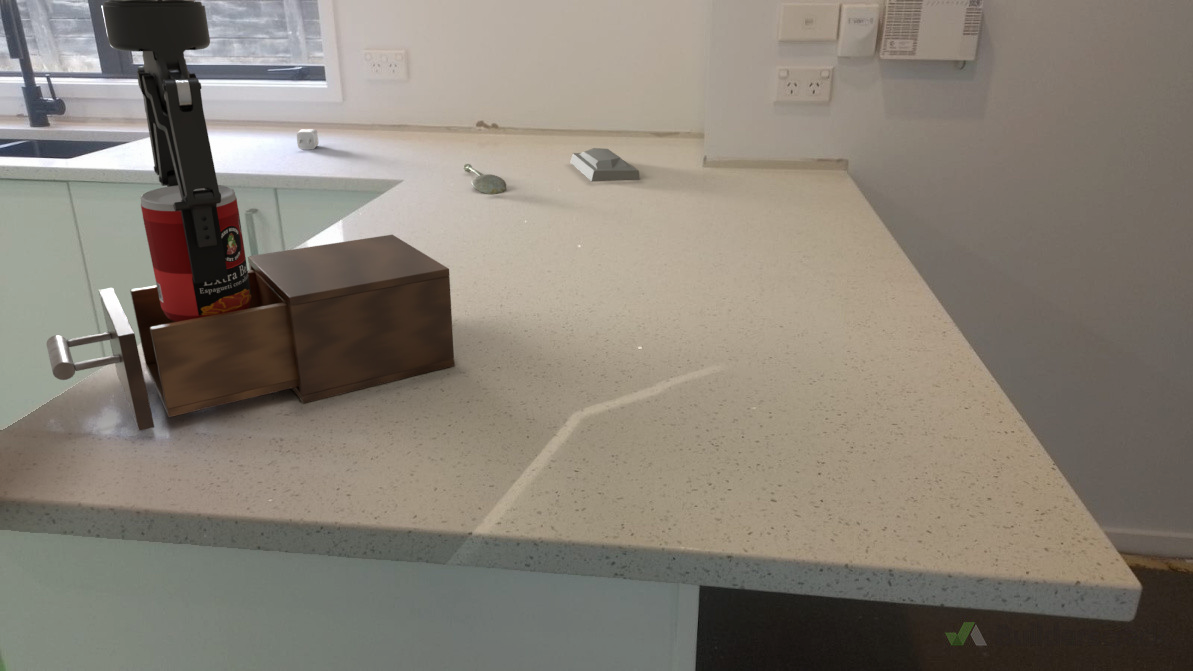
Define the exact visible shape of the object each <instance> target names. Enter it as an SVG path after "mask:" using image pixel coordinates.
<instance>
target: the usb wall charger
mask: <svg viewBox="0 0 1193 671" xmlns="http://www.w3.org/2000/svg"><path fill="white" fill-rule="evenodd" d="M295 136H296V144H297V148H298V149H299V150H314V149H316V147H318V145H319V135H318V130H317V129H315V128H301V129H300V130H299V131H297V133H296V135H295Z"/></svg>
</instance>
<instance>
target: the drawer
mask: <svg viewBox="0 0 1193 671" xmlns="http://www.w3.org/2000/svg"><path fill="white" fill-rule="evenodd" d="M248 277H249V284H250V291H251V302H250V306H249V308H248V309H245V310H239V311H234V312H228V313H223V314H218V315H212V316H207V317H201V318H196V319H190V320H185V321H179V322H176V321H173V320H171V319H169V318H167V316H166V315H165V313H164V312H163V310H162V308H161V304H160V299H159V294H158V289H157V284H155V285H150V286H142V287H137V288H136V287H135V288H130V289H129V292H130V297H131V301H132V307H133V310H134V316H135V321H136V325H137V326H136V327H137V330H138V336H139V341H140V346H141V349H142V354H143V359H144V364H145V368H146V371H147V373H148V375H149V377H150V379H151V382H152V384H153V386H154V388H155V390H156V392H157V394H158V396H159V400H160V401H161V403H162V405H163V408H164V410H165V412H166V414H167V416H168V417H169V418H170V417H171V418H172V417H176V416H179V415H183V414H189V413H192V412H196V411H197V412H198V411H201V410H204V409H209V408H213V407H218V406H222V405H226V404H230V403H234V402H235V403H236V402H239V401H244V400H247V399H251V398H256V397H260V396H263V395H269V394H272V393H273V394H274V393H276V392H277V393H278V392H280V391H287V390H289V389H290V390H291V389H292V388H294V387H298V386H299V381H298V374H297V366H296V359H295V352H294V344H293V337H292V329H291V322H290V314H289V307H288V304H289V303H288V302H287V301H286V300H285V299H284V298H283V297H282V296H281V295H280V294H279V293H278V292H277V291H276V290H275V289H274V288H273V287H272V286H271V285H270V284H269V283H268V282H267V281H266V280H265V279H264V278H263V277H262V276H261V275H260V274H259V273H258V272H257V271H256V270H250V269H249V270H248ZM98 293H99V294H98V296H99V298H100V303H101V308H102V313H103V316H104V321H105V322H104V323H105V326H106V330H107V331H106V332H102V333H101V332H100V333H96V334H89V335H85V336H79V337H72V338H68V339H67V338H66V337H65V336H63V335H60V334H59V335H58V334H57V335H52V336H50V337H49V338H48V339H47V340H46V349H47V354H48V357H49V362H50V367H51V371H52V375H53V377H54V378H55V379H57V380H60V381H67V380H70V379H71V378H73V377H74V375H75V374H76V372H79V371H84V370H89V369H94V368H98V367H104V366H108V365H115V366H114V367H115V370H116V374H117V378H118V380H119V382H120V385H121V388H122V391H123V393H124V396H125V398H126V401H127V404H128V406H129V409H130V412H131V414H132V416H133V419H134V422H135V424H136V427H137V429H138V431H139V432H141V431H146V430H149V429H150V430H151V429H153V428H155V424H154V418H153V414H152V408H151V405H150V400H149V395H148V390H147V385H146V380H145V376H144V372H143V367H142V362H141V357H140V353H139V347H138V342H137V339H136V334H135V332H134V329H133V327H132V325H131V323H130V321H129V319H128V316H127V314H126V313H125V310H124V308H123V306H122V304H121V302H120V300H119V298H118V296H117V293H116V291H115V290H114V288H113V287H107V288H103V289H102V288H101V289H98ZM105 341H109V343H110V344H109V345H110V348H111V353H112V355H107V356H102V357H98V358H91V359H86V360H81V361H76V362H74V360H73V357H72V352H71V349H70V348H73V347H74V348H75V347H79V346H84V345H89V344H94V343H101V342H105Z"/></svg>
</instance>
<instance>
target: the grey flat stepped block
mask: <svg viewBox="0 0 1193 671" xmlns="http://www.w3.org/2000/svg"><path fill="white" fill-rule="evenodd" d="M569 163H570V164H571V165H572V166H573V167H574V168H576V169H577V170H578V171H579V172H580V173H581V174H583V176H585V178H587V179H588V180H589V181H590V182H608V181H609V182H610V181H630V180H631V181H632V180H633V181H635V180H636V181H637V180H640V170H639V169H637V168H636V167H634V166H633V165H631V164H630V163H628V162H627V161H626V160H625V159H623V158H622V157H621V156H619V155H618V154H616V153H614V152H613V151H612V150H610V149H609V148H601V147H593V148H591V149H588V150H585V151H582V152H572V155H571V158H570V161H569Z"/></svg>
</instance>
